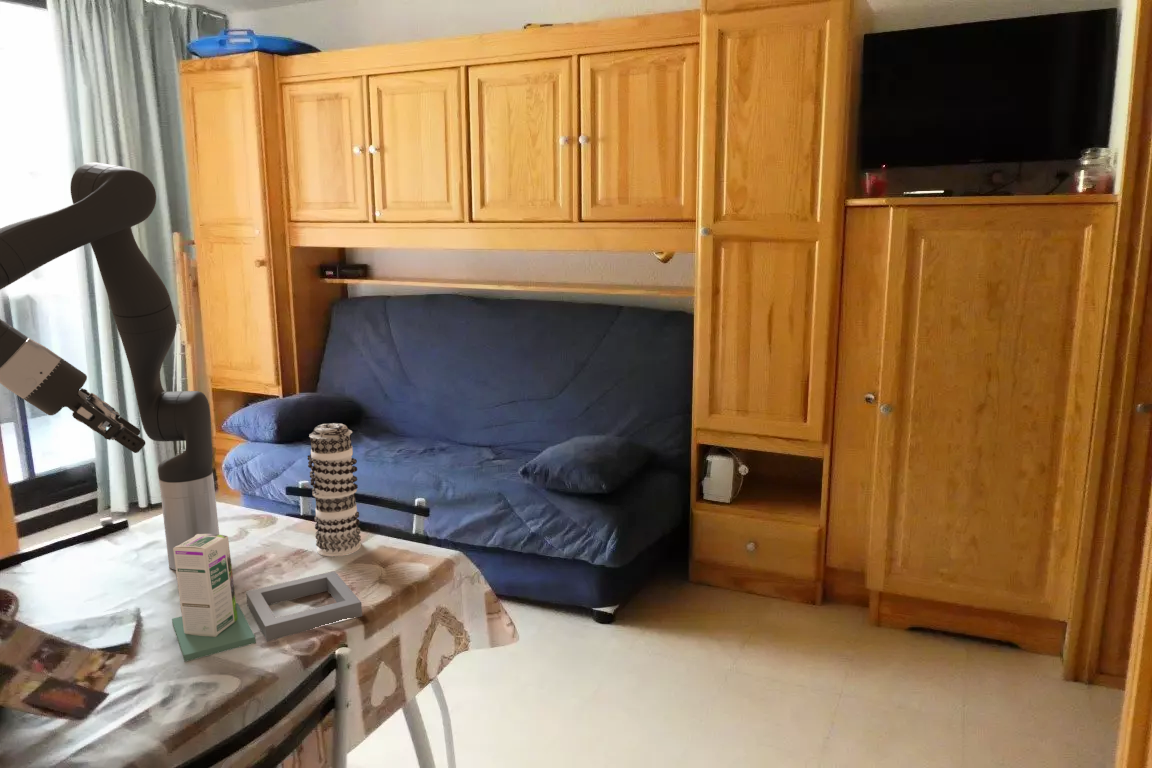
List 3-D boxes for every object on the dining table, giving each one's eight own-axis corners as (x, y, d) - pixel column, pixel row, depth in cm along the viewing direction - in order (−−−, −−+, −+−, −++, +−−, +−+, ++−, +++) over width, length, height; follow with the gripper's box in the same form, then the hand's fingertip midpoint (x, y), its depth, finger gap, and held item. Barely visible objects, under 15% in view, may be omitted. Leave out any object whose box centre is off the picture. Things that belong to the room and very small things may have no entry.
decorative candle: (305, 549, 163) (295, 427, 159) (345, 536, 170) (336, 418, 166) (331, 561, 157) (322, 434, 153) (372, 546, 164) (364, 424, 160)
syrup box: (216, 637, 126) (206, 548, 124) (182, 634, 127) (172, 545, 125) (238, 620, 132) (229, 534, 129) (205, 617, 133) (196, 532, 130)
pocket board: (247, 605, 139) (245, 591, 139) (335, 583, 147) (334, 570, 147) (266, 641, 127) (265, 626, 126) (362, 616, 135) (361, 601, 134)
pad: (172, 624, 133) (171, 618, 133) (238, 608, 138) (237, 603, 138) (184, 661, 121) (183, 655, 121) (255, 642, 127) (255, 636, 126)
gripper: (59, 362, 113) (161, 431, 121) (58, 350, 125) (151, 414, 133) (19, 405, 111) (125, 472, 120) (22, 389, 123) (118, 451, 131)
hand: (139, 441), depth 126 cm, fingers open, 8 cm apart
